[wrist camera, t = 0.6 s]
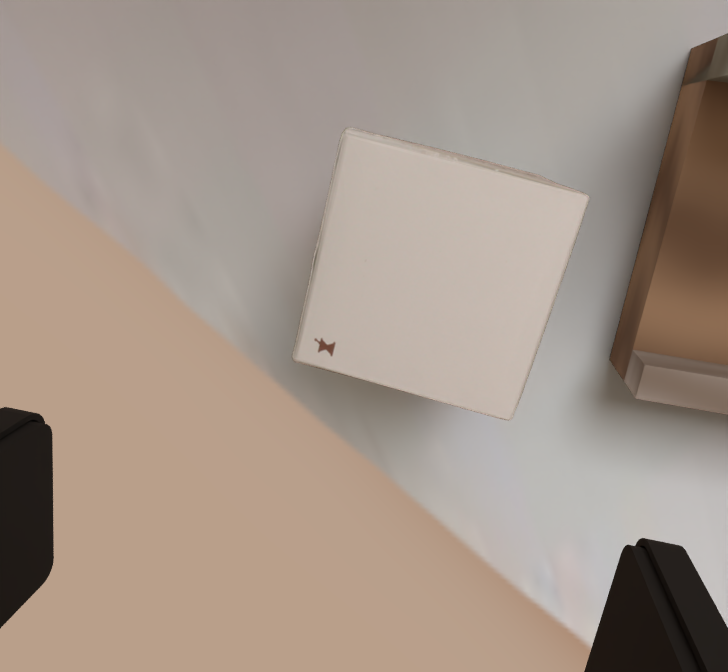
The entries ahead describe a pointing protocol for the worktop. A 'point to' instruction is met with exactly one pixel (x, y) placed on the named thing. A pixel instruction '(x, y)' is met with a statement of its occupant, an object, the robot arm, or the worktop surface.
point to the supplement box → (435, 272)
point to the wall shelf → (684, 254)
